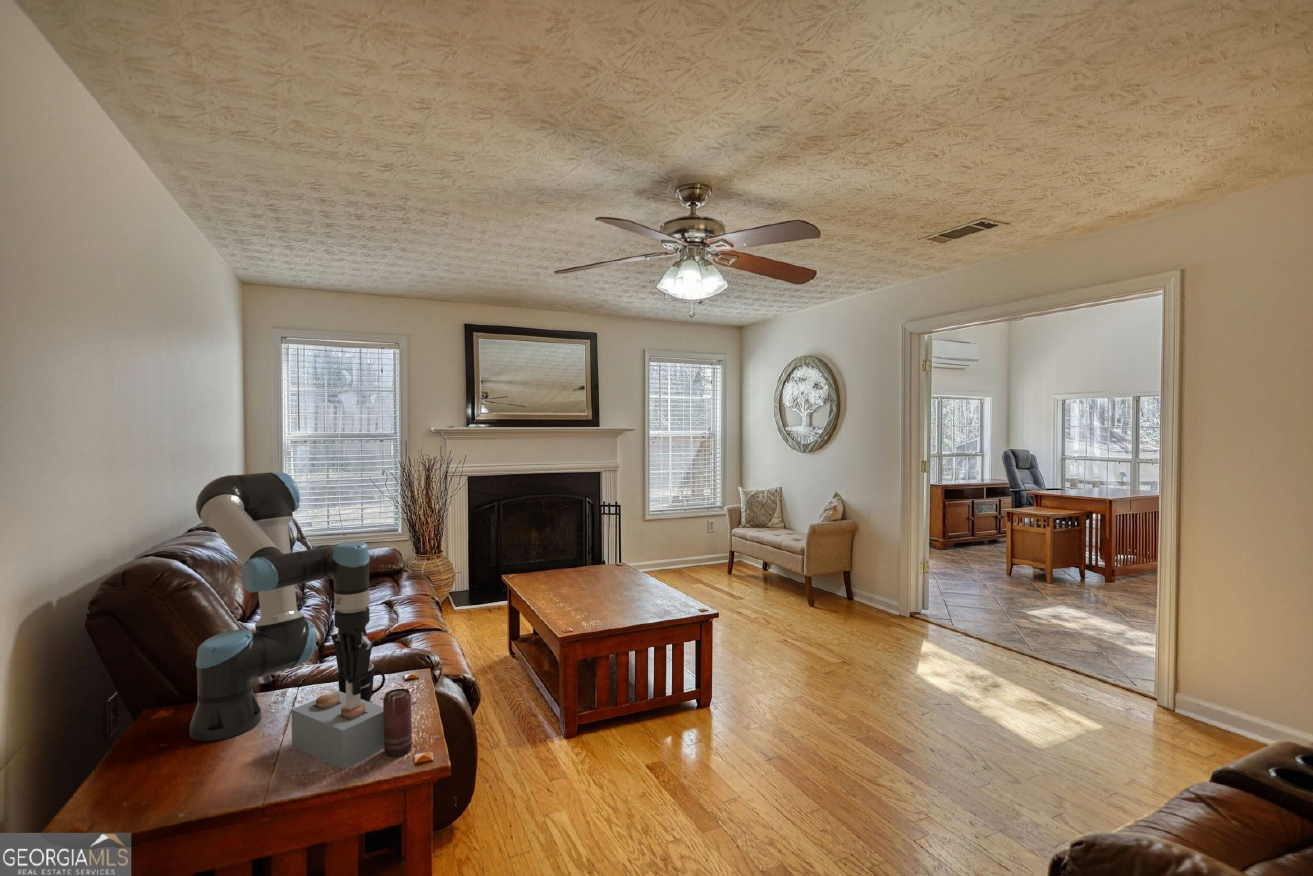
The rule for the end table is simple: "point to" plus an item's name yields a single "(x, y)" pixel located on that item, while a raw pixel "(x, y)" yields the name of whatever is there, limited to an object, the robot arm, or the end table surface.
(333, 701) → the peg
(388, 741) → the can
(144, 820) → the end table surface
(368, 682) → the mug
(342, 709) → the peg
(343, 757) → the socket block
